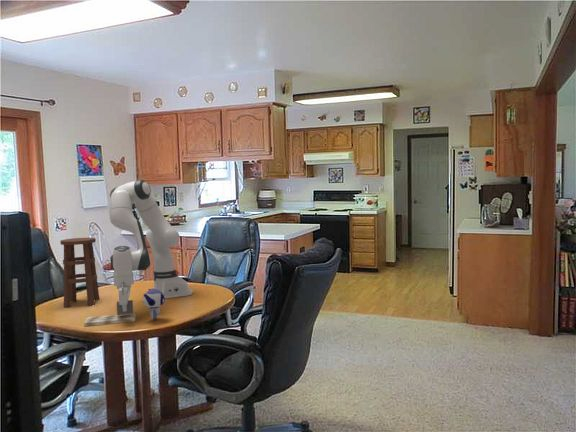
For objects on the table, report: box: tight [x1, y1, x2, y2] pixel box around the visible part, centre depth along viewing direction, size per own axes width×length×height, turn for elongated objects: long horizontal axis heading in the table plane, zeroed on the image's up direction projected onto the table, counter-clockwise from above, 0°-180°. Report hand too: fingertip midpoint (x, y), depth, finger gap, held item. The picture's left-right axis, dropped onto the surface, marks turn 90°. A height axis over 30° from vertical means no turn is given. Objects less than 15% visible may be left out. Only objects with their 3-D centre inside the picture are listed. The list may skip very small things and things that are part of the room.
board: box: [83, 312, 137, 327], centre depth 225 cm, size 22×10×2 cm, turn 106°
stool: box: [59, 237, 100, 309], centre depth 259 cm, size 20×35×20 cm
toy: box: [142, 288, 166, 321], centre depth 223 cm, size 11×10×15 cm
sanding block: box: [116, 299, 134, 316], centre depth 226 cm, size 7×4×6 cm, turn 105°
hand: (125, 309), depth 226 cm, fingers closed on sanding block, 3 cm apart
